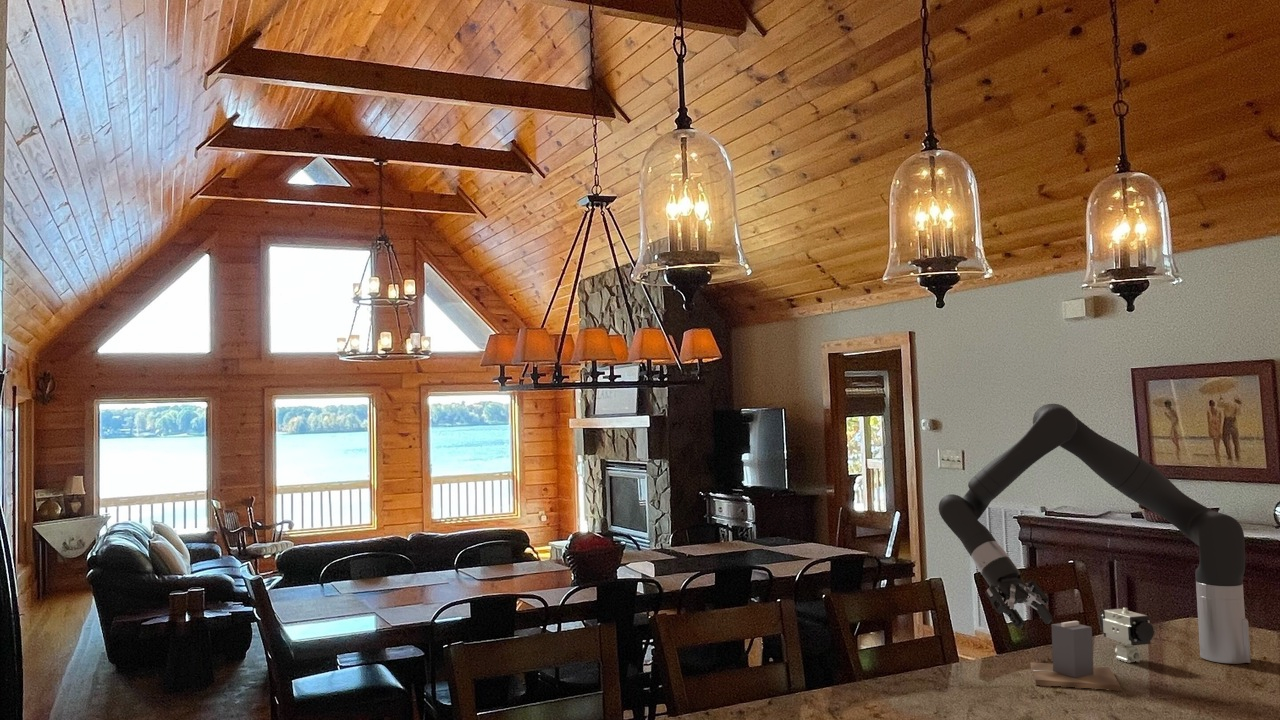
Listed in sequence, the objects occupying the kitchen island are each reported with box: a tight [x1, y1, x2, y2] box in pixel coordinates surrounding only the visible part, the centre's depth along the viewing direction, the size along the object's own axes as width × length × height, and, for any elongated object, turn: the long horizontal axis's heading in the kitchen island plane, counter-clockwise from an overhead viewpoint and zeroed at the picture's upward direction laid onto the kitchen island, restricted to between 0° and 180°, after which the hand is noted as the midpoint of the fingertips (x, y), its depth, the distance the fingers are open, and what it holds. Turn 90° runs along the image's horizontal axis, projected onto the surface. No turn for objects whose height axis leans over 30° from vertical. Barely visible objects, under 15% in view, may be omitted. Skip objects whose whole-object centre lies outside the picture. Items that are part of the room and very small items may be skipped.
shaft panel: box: [1030, 661, 1121, 691], centre depth 198 cm, size 16×14×6 cm
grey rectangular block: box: [1051, 620, 1094, 678], centre depth 199 cm, size 6×6×11 cm
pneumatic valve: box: [1099, 607, 1155, 664], centre depth 211 cm, size 6×12×12 cm, turn 15°
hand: (1035, 624), depth 208 cm, fingers open, 8 cm apart
